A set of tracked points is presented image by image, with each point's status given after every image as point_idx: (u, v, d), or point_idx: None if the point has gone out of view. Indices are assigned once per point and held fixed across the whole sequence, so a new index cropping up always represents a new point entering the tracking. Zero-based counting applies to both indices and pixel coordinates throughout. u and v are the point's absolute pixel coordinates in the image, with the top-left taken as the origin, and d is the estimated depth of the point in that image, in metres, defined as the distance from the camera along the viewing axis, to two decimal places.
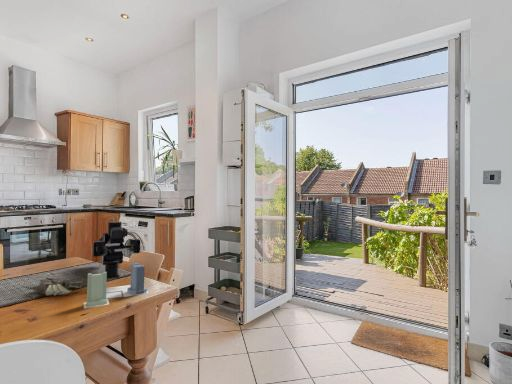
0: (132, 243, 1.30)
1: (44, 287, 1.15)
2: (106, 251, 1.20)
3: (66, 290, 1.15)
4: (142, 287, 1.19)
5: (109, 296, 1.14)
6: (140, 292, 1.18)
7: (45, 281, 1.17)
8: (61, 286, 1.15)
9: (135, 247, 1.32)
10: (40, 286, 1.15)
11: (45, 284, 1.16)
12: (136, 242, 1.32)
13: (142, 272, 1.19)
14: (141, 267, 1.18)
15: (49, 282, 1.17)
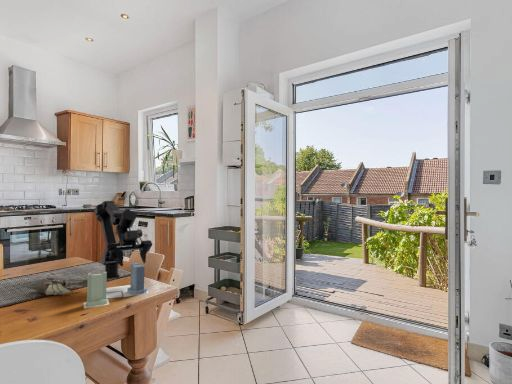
0: (145, 249, 1.29)
1: (44, 287, 1.16)
2: (121, 264, 1.20)
3: (66, 290, 1.15)
4: (142, 287, 1.19)
5: (109, 296, 1.14)
6: (140, 292, 1.18)
7: (45, 281, 1.18)
8: (61, 286, 1.15)
9: None
10: (40, 286, 1.16)
11: (45, 284, 1.16)
12: (148, 247, 1.31)
13: (142, 272, 1.19)
14: (141, 267, 1.18)
15: (49, 282, 1.18)
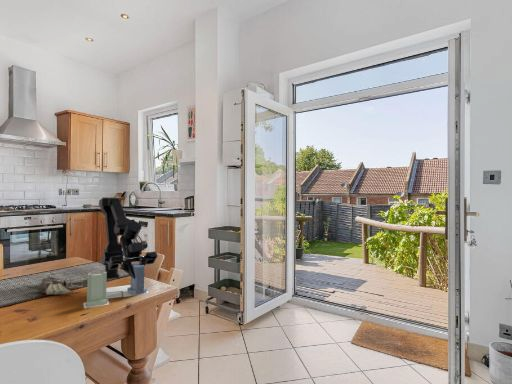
0: (143, 262, 1.23)
1: (45, 286, 1.16)
2: (133, 276, 1.18)
3: (66, 290, 1.16)
4: (142, 287, 1.19)
5: (109, 296, 1.14)
6: (140, 292, 1.18)
7: (46, 280, 1.18)
8: (61, 286, 1.16)
9: (144, 263, 1.26)
10: (41, 285, 1.16)
11: (46, 283, 1.17)
12: (147, 259, 1.25)
13: (142, 272, 1.19)
14: (141, 267, 1.18)
15: (50, 281, 1.18)
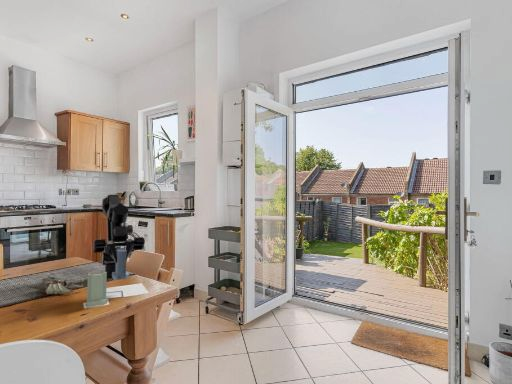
0: (128, 247, 1.20)
1: (45, 286, 1.17)
2: (115, 261, 1.15)
3: (66, 289, 1.16)
4: (124, 272, 1.15)
5: (109, 296, 1.14)
6: (122, 277, 1.15)
7: (46, 280, 1.19)
8: (62, 285, 1.16)
9: (131, 248, 1.22)
10: (41, 285, 1.17)
11: (46, 283, 1.17)
12: (132, 244, 1.21)
13: (124, 257, 1.15)
14: (123, 251, 1.15)
15: (50, 281, 1.19)
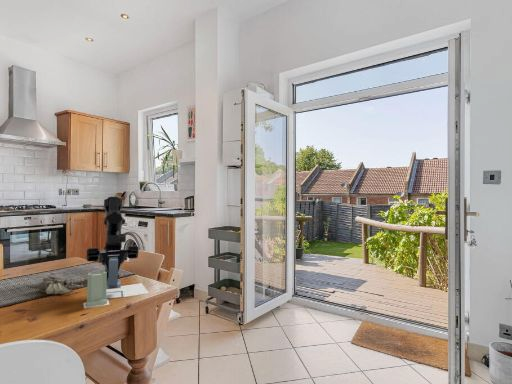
0: (121, 256, 1.18)
1: (45, 286, 1.17)
2: (107, 270, 1.14)
3: (66, 289, 1.16)
4: (115, 282, 1.14)
5: (109, 296, 1.14)
6: (113, 287, 1.13)
7: (47, 280, 1.19)
8: (62, 285, 1.16)
9: (124, 257, 1.21)
10: (42, 285, 1.17)
11: (46, 283, 1.18)
12: (126, 253, 1.20)
13: (115, 266, 1.14)
14: (114, 261, 1.14)
15: (50, 281, 1.19)
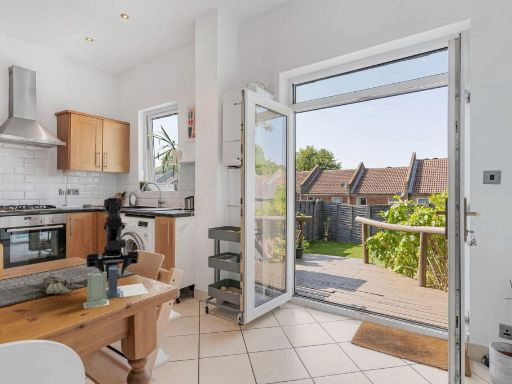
0: (124, 261, 1.19)
1: (46, 286, 1.17)
2: None
3: (66, 289, 1.16)
4: (115, 291, 1.14)
5: None
6: (113, 296, 1.13)
7: (47, 280, 1.19)
8: (62, 285, 1.17)
9: (128, 262, 1.22)
10: (42, 284, 1.17)
11: (47, 283, 1.18)
12: (129, 259, 1.20)
13: (115, 275, 1.14)
14: (114, 270, 1.13)
15: (51, 281, 1.19)
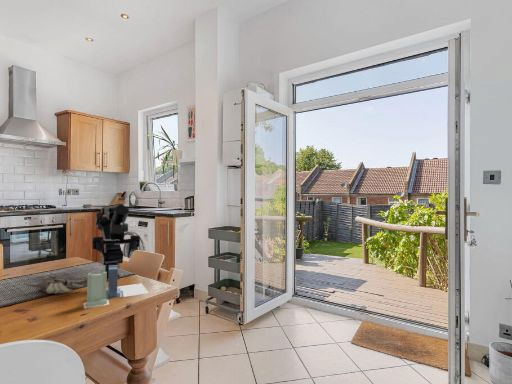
0: (131, 244, 1.30)
1: (46, 285, 1.18)
2: (103, 257, 1.23)
3: (67, 289, 1.17)
4: (115, 291, 1.14)
5: None
6: (113, 296, 1.13)
7: (48, 279, 1.20)
8: (62, 284, 1.17)
9: (134, 245, 1.32)
10: (43, 284, 1.18)
11: (47, 282, 1.19)
12: (135, 242, 1.31)
13: (115, 275, 1.14)
14: (114, 270, 1.13)
15: (51, 280, 1.20)
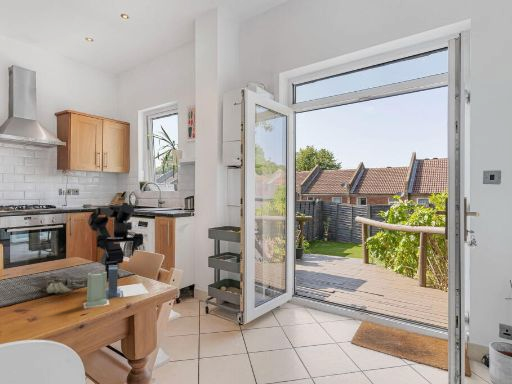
0: (134, 242, 1.31)
1: (47, 285, 1.18)
2: (107, 255, 1.25)
3: (67, 288, 1.17)
4: (115, 291, 1.14)
5: None
6: (113, 296, 1.13)
7: (48, 279, 1.20)
8: (62, 284, 1.17)
9: (137, 243, 1.34)
10: (43, 284, 1.18)
11: (48, 282, 1.19)
12: (139, 240, 1.32)
13: (115, 275, 1.14)
14: (114, 270, 1.13)
15: (52, 280, 1.20)
